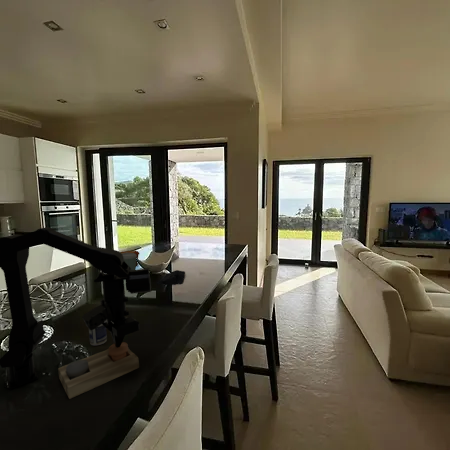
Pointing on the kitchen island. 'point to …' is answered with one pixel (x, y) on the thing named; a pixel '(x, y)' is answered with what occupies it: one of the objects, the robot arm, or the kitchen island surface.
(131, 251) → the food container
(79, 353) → the kitchen island surface
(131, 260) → the disposable coffee cup
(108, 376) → the plug board
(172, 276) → the dark slate chunk
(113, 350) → the terracotta plug
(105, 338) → the pill bottle
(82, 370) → the plug
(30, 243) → the robot arm
